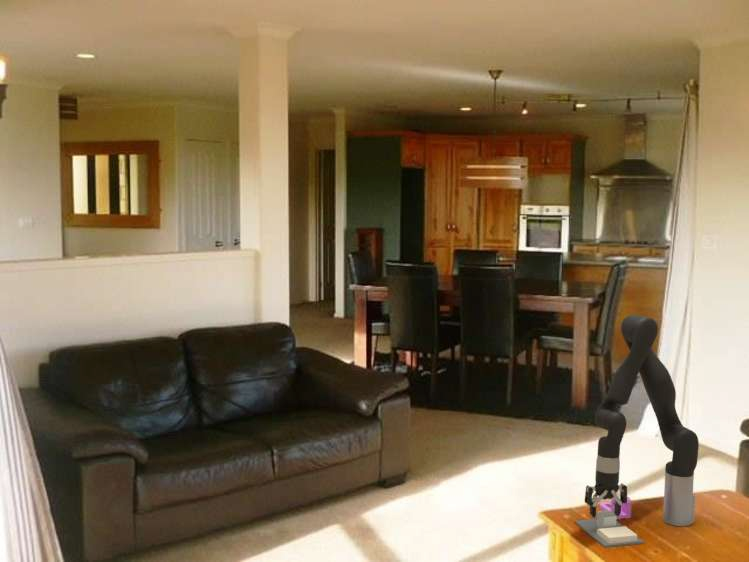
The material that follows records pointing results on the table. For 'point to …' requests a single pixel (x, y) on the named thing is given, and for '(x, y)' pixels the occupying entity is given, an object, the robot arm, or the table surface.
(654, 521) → the table surface
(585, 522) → the pad
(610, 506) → the bracket
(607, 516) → the stub
